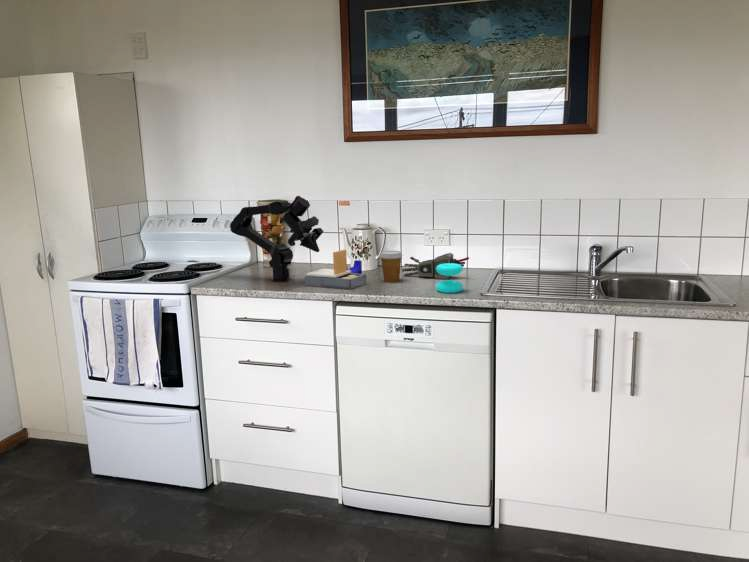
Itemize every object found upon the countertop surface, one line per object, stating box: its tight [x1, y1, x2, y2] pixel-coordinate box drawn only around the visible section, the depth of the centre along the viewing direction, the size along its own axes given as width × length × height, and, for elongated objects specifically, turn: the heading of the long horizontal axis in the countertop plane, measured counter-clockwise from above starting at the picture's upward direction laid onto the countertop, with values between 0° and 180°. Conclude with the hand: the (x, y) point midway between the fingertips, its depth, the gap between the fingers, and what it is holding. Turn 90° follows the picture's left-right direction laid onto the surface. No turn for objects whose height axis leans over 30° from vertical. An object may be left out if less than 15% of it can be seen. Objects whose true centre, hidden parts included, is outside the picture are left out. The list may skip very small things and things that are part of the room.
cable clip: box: [347, 259, 363, 274], centre depth 262 cm, size 12×4×6 cm, turn 144°
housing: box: [304, 273, 367, 291], centre depth 242 cm, size 22×12×4 cm, turn 61°
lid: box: [306, 249, 351, 278], centre depth 242 cm, size 14×12×10 cm
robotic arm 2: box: [401, 252, 470, 280], centre depth 251 cm, size 10×8×30 cm
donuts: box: [435, 263, 464, 294], centre depth 224 cm, size 10×10×10 cm
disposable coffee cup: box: [379, 250, 403, 283], centre depth 246 cm, size 10×10×12 cm
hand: (318, 251), depth 244 cm, fingers closed
